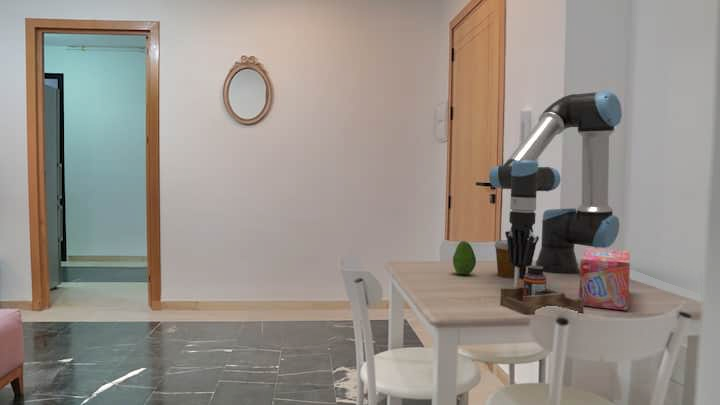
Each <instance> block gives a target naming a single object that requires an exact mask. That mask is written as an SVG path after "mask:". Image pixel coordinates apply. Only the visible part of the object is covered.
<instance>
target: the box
mask: <svg viewBox="0 0 720 405" xmlns="http://www.w3.org/2000/svg"><path fill="white" fill-rule="evenodd" d="M630 261H631V260H630V251H627V250H616V249H605V248H594V247H591V248H589V247H587V248H586V249H585V251H584V253H583V255H582V257H581V259H580V265H579V266H580V268H579V269H580V270H579V288H578V292H579V293H578V296H579V297H578V299H583V300H584V307H593V308H602V309H610V310H611V309H613V310H619V311H628V308H629V294H630V293H629V292H630V271H631V268H630V266H631V264H630V263H631V262H630Z"/></svg>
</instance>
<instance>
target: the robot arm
mask: <svg viewBox="0 0 720 405" xmlns="http://www.w3.org/2000/svg"><path fill="white" fill-rule="evenodd" d="M622 114H623V112H622V106H621V102H620V100H619V98H618V96H617V95H616V94H615V93H613V92H611V91H597V92H586V93H575V94H574V93H573V94H567V95H565V96H562V97H561V98H559V99H558V100H556V101H554V102H553V103H551V104H550V105H549V106H548V107H547V108H546V109H544V111H543V112H542V113H540V116H538V117H539V118H538V122H537V123H536V125H535V126H534V127H533V128H532V130H531V131H530V132H529V133H528V135H527V136H526V137H525V139H523V141H522V142H521V143H520V144H519V145H518V147H517V148H516V149H515V150H514V152H512V154H511V155H510V156H509V158H508V159H507V160H506V162H505V163H504V164H503V165H496V166H493V167H492V168H491V169H490V171H489V174H488V175H489V176H488V179H489V183H490V185H491V186H492V187H493V188H495V189H502V190H510V201H509V202H510V203H509V205H510V206H509V207H510V208H509V209H510V210H511V211H509V220H508V221H509V224H511V226H510V230H509V231H507V230H506V231H505V233H504V235H505V238H506V240H507V243H508V253H509V262H510V263H513V265H514V277H513V278H514V279H513V281H514V282H513V288H514V287H518V278H524V275H525V274H526V273H527V268H528V266H532V265H533V261H534V256H535V251H536V247H537V243H538V242H539V239H540V238H539V236H538V235H535V234H534V229H533V226H534V225H535V224H536V212H535V211H536V210H537V193H538V192H550V191H554V190H555V189H557V188H558V187H559V185H560V184H561V174H560V173H559V171H558V170H557V169H556V168H554V167H550V166H539V163H538V161H537V160H538V159H539V157H540V156H541V155H542V154H543V152H544V151H545V150H546V148H547V147H549V144H550V143H551V142H552V141H553V140H554V138H555V137H556V136H557V135H560V134H562V133H563V132H564V130H566V129H568V128H577V134H579V135H580V136H581V138H582V143H581V144H582V145H581V146H582V148H581V150H582V151H581V204H580V206H578V207H577V208H576V207H574V208H573V207H572V208H569V207H567V208H556V209H555V208H551V209H546V210H544V211H543V214H542V220H541V223H542V224H541V225H542V226H541V247H540V250H539V253H538V256H537V259H536V261H535V266H541V267H543V272H547V273H548V272H549V273H558V274H574V273H577V272H579V264H578V261H577V256H576V252H575V245H580V246H587V247H591V248H594V249H598V248H600V249H605V248H609V247H611V246H612V245H613V244H614V242H615V241H616V239H617V237H618V235H619V232H620V231H619V230H620V221H619V217H617V216H616V215H613V208H612V207H610V205H609V163H610V162H609V160H610V158H609V157H610V156H609V155H610V136H611V135H612V134H613V133H614V132H615V127H617V126H618V125H619V124H620V123H621V119H622V118H623V117H622Z"/></svg>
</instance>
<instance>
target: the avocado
mask: <svg viewBox="0 0 720 405" xmlns="http://www.w3.org/2000/svg"><path fill="white" fill-rule="evenodd" d="M476 261H477V258H476V255H475V253H474V249H473V247H472V245H471V244H470V242H468V241H466V240H462V241H460V242H459V243H458V244H457V246H456V249H455V251H454V254H453V257H452V264H453V268H454V270H455V272H456V273H458V274H459V275H462V276H463V275H464V276H465V275H469V274H470V273H472V272H473V271H474V270H475V267H476Z"/></svg>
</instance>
